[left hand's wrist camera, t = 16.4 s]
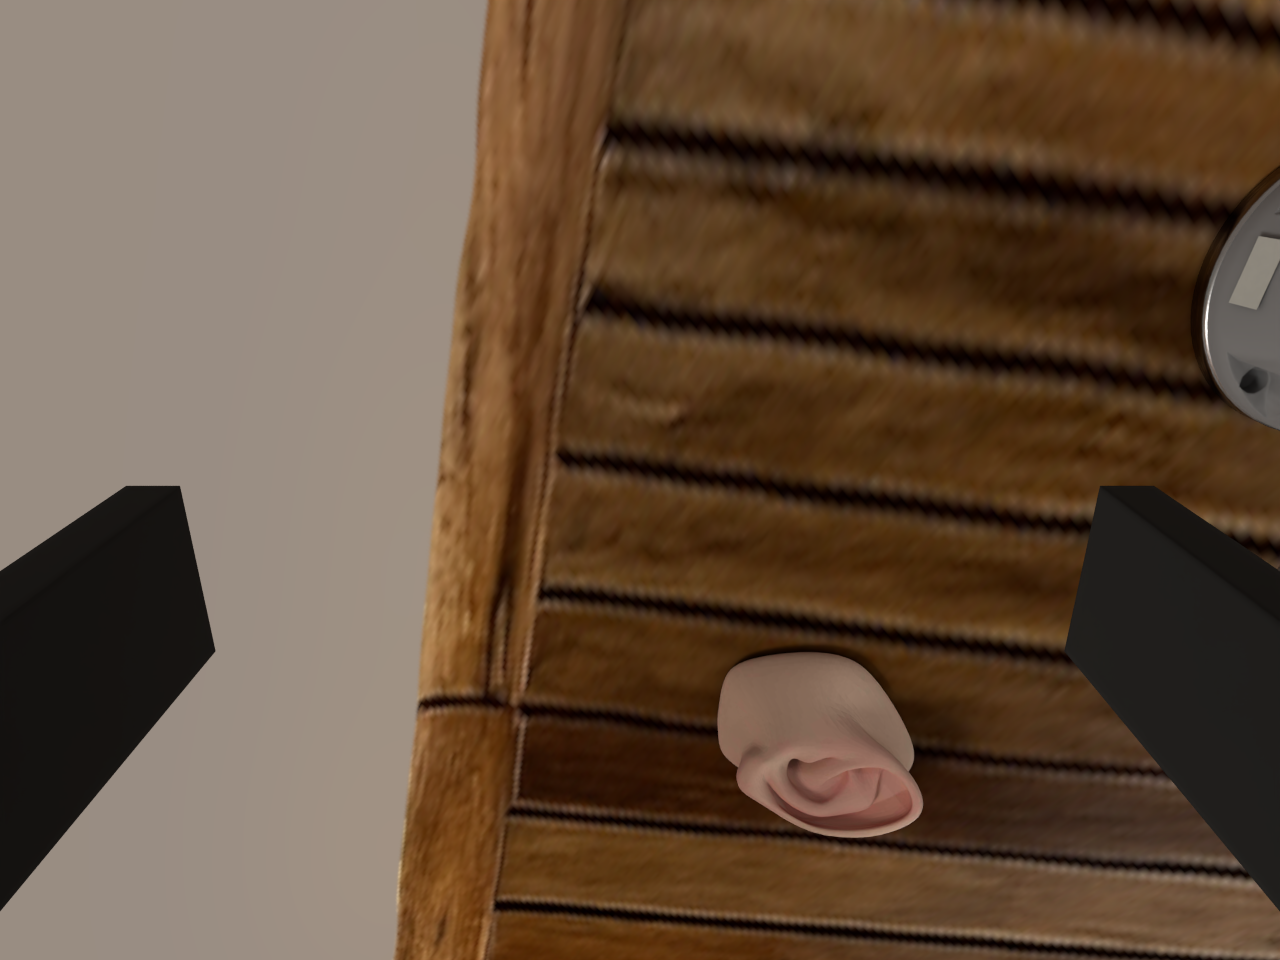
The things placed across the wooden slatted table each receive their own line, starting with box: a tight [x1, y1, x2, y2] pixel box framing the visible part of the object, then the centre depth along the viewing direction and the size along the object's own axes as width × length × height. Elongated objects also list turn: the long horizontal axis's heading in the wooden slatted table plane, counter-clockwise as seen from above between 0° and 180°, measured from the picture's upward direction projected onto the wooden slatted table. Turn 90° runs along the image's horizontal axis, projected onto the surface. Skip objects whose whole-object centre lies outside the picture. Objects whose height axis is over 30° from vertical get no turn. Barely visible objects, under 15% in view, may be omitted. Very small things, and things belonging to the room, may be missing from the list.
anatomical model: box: [718, 652, 923, 837], centre depth 53 cm, size 13×4×12 cm
